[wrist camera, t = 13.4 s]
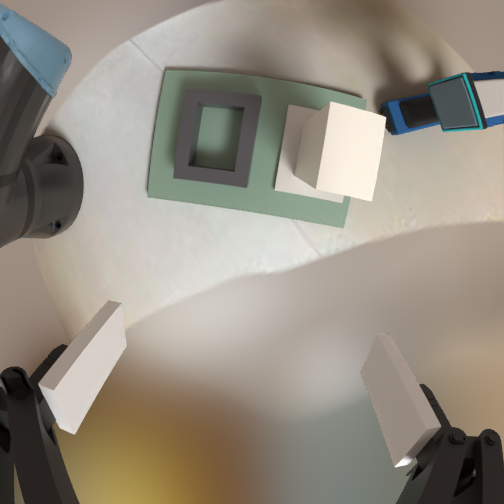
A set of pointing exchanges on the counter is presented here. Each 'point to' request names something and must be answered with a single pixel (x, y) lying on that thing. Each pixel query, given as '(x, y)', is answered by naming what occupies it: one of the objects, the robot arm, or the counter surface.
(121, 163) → the counter surface
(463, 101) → the handheld scanner
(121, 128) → the counter surface
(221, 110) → the green socket board
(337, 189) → the plug
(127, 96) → the counter surface
